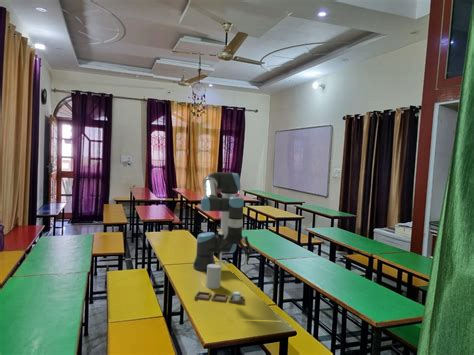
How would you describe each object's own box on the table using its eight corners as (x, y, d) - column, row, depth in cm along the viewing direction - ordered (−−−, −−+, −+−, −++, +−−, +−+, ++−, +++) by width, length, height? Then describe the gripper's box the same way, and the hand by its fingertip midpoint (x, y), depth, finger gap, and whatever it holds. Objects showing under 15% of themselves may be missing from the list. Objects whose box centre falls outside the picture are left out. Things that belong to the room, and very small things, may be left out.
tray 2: (214, 296, 182) (214, 293, 182) (227, 297, 181) (227, 294, 181) (211, 301, 175) (211, 298, 175) (225, 303, 174) (225, 300, 174)
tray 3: (230, 298, 181) (230, 295, 181) (244, 299, 180) (244, 296, 180) (228, 303, 174) (228, 300, 173) (242, 305, 173) (242, 302, 172)
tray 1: (198, 294, 183) (198, 291, 183) (211, 295, 182) (211, 292, 182) (194, 299, 176) (194, 296, 176) (207, 301, 175) (208, 298, 175)
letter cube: (232, 298, 178) (233, 290, 178) (240, 298, 179) (240, 291, 178) (232, 302, 174) (233, 294, 174) (240, 302, 174) (241, 294, 174)
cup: (218, 289, 190) (219, 268, 190) (204, 288, 191) (205, 266, 191) (221, 285, 198) (222, 264, 198) (208, 283, 199) (209, 263, 199)
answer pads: (201, 287, 193) (201, 287, 193) (247, 292, 189) (247, 291, 189) (198, 292, 185) (198, 292, 185) (245, 298, 181) (245, 297, 181)
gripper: (210, 225, 176) (208, 265, 178) (258, 229, 173) (255, 270, 175) (213, 223, 184) (211, 261, 185) (259, 226, 181) (256, 265, 182)
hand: (232, 265), depth 180 cm, fingers open, 13 cm apart
